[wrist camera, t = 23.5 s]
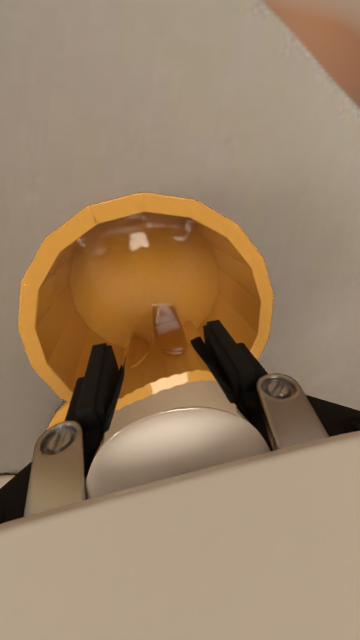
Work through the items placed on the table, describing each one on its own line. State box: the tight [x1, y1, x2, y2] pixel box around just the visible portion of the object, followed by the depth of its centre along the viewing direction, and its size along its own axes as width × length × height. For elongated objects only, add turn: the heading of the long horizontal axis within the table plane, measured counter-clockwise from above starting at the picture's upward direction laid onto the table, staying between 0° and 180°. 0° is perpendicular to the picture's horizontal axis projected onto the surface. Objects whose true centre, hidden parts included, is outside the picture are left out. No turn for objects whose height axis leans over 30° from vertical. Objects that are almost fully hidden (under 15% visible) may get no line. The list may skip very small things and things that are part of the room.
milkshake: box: [86, 304, 270, 499], centre depth 9 cm, size 4×5×10 cm
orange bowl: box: [18, 192, 274, 403], centre depth 18 cm, size 14×14×8 cm
